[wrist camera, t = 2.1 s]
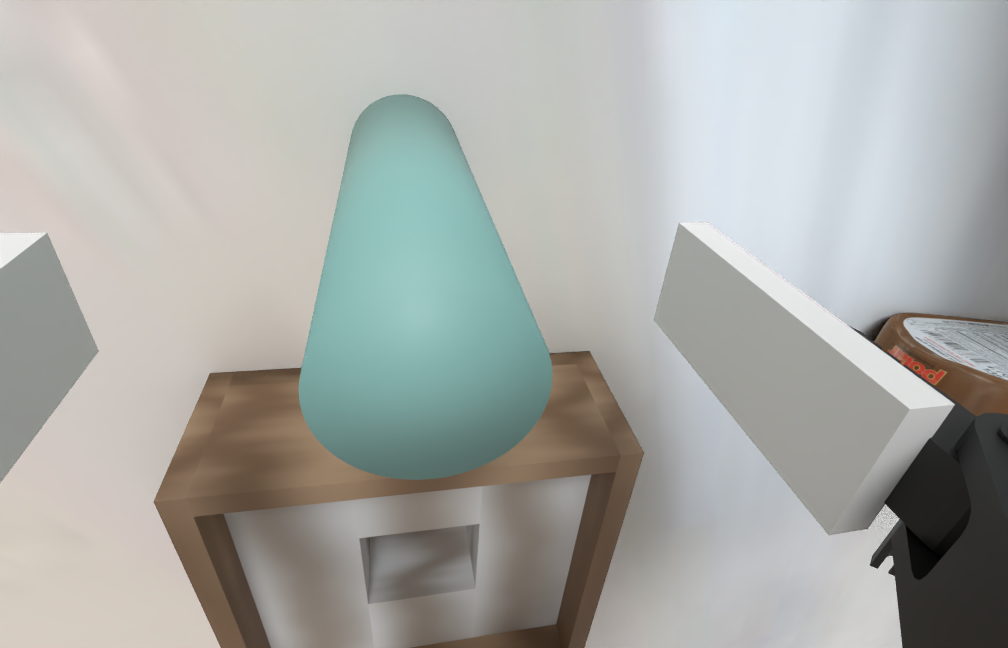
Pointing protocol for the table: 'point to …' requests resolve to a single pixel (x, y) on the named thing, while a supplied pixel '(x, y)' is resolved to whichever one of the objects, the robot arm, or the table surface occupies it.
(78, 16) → the table surface
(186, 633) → the table surface
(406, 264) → the peg
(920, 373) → the tin
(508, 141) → the table surface
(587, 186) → the table surface
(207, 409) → the bore box
